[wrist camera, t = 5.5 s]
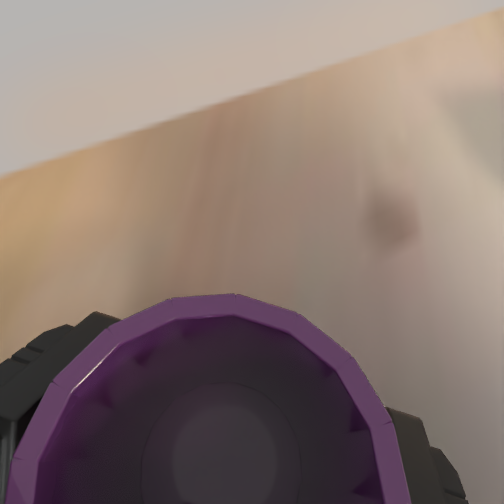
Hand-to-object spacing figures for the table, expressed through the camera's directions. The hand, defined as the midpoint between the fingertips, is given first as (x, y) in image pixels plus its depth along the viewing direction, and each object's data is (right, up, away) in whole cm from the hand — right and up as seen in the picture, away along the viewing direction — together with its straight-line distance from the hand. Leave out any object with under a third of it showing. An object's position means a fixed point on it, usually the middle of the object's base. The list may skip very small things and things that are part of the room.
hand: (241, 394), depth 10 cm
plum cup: (-1, -3, +3) cm, 5 cm away
